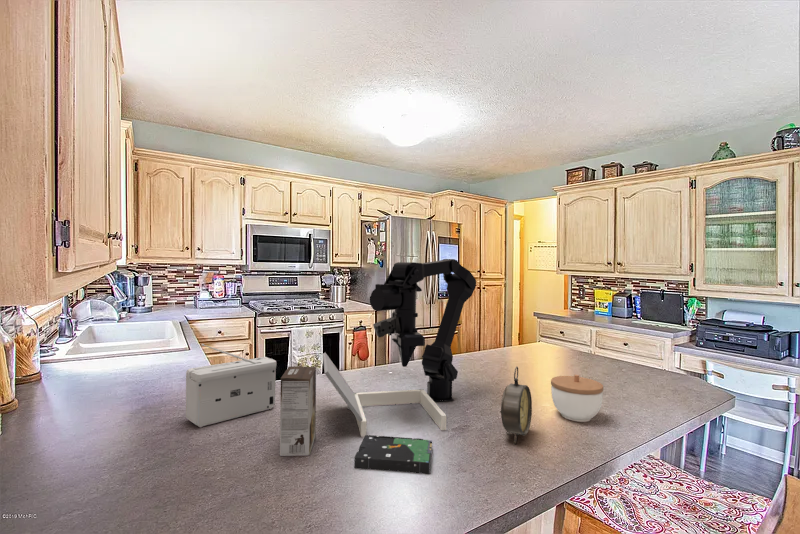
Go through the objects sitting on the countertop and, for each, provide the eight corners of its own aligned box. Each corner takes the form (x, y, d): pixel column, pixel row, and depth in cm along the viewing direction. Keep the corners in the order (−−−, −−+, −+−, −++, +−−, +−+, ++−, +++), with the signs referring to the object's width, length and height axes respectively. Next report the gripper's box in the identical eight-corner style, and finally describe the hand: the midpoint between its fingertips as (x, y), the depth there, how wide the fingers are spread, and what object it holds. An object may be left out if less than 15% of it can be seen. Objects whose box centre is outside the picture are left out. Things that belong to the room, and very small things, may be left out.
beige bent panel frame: (423, 401, 113) (423, 348, 113) (446, 430, 93) (447, 366, 93) (321, 407, 107) (322, 352, 107) (323, 439, 87) (324, 371, 87)
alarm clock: (520, 448, 85) (521, 373, 85) (496, 442, 88) (497, 369, 88) (532, 430, 94) (534, 363, 94) (510, 425, 97) (511, 360, 97)
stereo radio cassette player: (264, 401, 111) (266, 331, 111) (278, 409, 105) (279, 335, 105) (184, 421, 97) (185, 340, 97) (194, 431, 91) (196, 345, 91)
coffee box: (287, 437, 88) (288, 365, 88) (316, 436, 89) (317, 365, 89) (278, 456, 79) (279, 377, 79) (310, 456, 80) (311, 377, 80)
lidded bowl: (598, 411, 107) (599, 371, 107) (606, 429, 95) (607, 384, 95) (549, 405, 111) (550, 366, 111) (551, 422, 99) (552, 378, 99)
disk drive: (353, 472, 75) (431, 476, 74) (353, 457, 75) (431, 462, 74) (364, 447, 85) (432, 450, 84) (364, 434, 85) (432, 437, 84)
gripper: (370, 305, 113) (369, 359, 113) (381, 313, 95) (380, 377, 95) (408, 305, 115) (407, 357, 115) (425, 312, 97) (424, 375, 97)
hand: (404, 366), depth 105 cm, fingers closed
